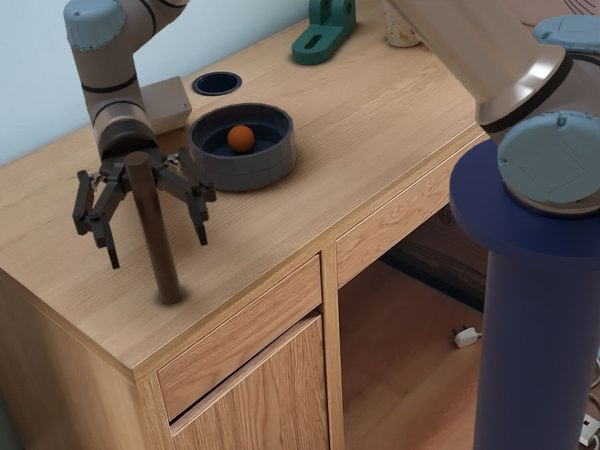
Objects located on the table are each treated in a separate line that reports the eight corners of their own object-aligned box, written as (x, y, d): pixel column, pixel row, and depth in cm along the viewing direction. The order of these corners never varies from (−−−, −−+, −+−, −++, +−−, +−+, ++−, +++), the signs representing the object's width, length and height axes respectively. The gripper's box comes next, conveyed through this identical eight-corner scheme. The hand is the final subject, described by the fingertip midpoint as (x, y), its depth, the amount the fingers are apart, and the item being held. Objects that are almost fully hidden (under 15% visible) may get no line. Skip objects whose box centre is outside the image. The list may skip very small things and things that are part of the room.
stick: (186, 296, 95) (153, 157, 83) (168, 307, 94) (132, 167, 81) (174, 286, 97) (140, 148, 84) (156, 296, 95) (119, 158, 83)
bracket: (323, 21, 154) (320, -18, 149) (356, 24, 152) (354, -16, 147) (286, 62, 142) (282, 21, 137) (321, 66, 139) (318, 24, 134)
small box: (172, 94, 127) (180, 74, 117) (184, 127, 127) (194, 109, 117) (124, 109, 125) (129, 89, 115) (136, 142, 124) (142, 125, 114)
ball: (261, 149, 118) (258, 126, 116) (240, 160, 116) (236, 137, 114) (245, 140, 121) (241, 117, 118) (224, 151, 119) (220, 128, 116)
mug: (405, 26, 149) (405, -26, 143) (453, 46, 141) (455, -8, 135) (372, 40, 146) (370, -12, 139) (419, 62, 137) (420, 7, 131)
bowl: (318, 161, 116) (315, 126, 112) (236, 207, 108) (230, 171, 105) (253, 126, 125) (249, 92, 121) (174, 166, 118) (167, 132, 114)
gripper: (212, 149, 106) (259, 248, 89) (49, 188, 102) (65, 300, 85) (204, 100, 102) (252, 194, 84) (33, 139, 97) (46, 247, 80)
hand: (158, 247), depth 85 cm, fingers open, 9 cm apart
